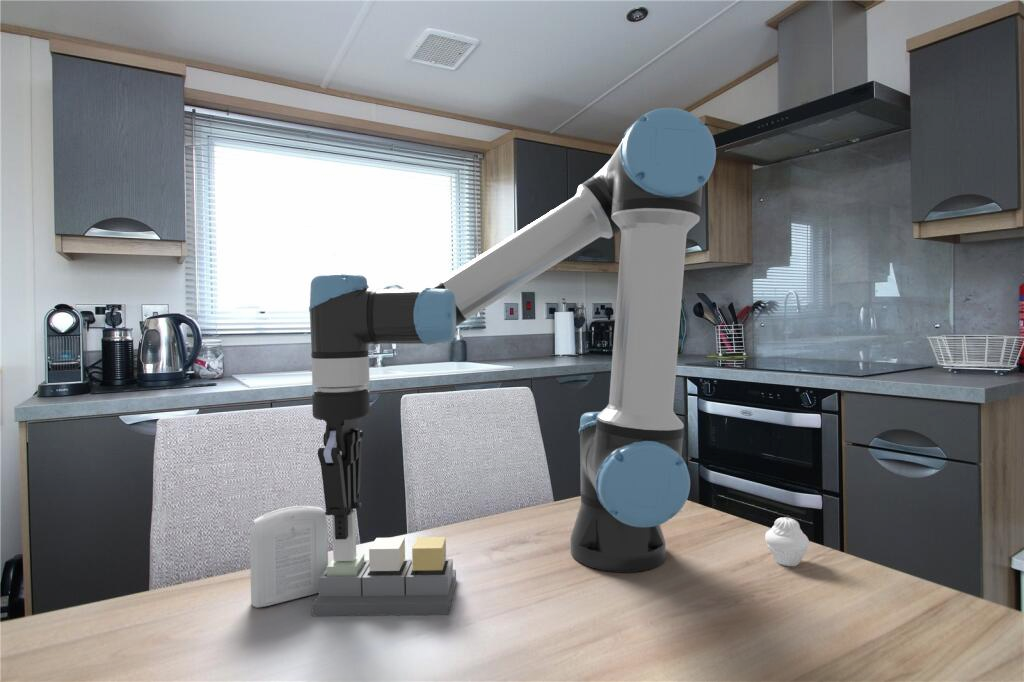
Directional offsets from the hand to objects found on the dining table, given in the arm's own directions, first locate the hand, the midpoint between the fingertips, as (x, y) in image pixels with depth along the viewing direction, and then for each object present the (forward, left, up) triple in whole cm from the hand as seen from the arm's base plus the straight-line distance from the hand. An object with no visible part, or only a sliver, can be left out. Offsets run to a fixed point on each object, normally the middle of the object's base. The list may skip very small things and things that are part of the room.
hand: (345, 558), depth 79 cm
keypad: (-6, 0, -5) cm, 8 cm away
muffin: (-65, -10, -6) cm, 66 cm away
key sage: (0, 0, -3) cm, 3 cm away
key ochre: (-12, 0, -1) cm, 12 cm away
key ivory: (-6, 0, -1) cm, 6 cm away
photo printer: (+8, -1, -6) cm, 10 cm away
